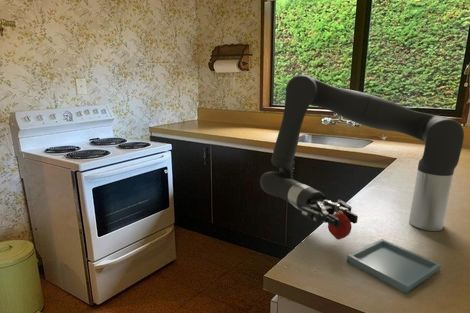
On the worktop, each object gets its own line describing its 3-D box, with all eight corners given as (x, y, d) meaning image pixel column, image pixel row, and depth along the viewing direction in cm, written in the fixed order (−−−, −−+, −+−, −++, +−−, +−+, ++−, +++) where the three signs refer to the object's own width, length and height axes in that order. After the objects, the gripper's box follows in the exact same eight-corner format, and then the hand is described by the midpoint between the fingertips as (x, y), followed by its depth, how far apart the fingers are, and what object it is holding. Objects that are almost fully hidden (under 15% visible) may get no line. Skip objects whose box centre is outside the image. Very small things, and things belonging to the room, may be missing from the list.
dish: (381, 245, 92) (382, 238, 92) (439, 271, 81) (441, 264, 80) (346, 261, 84) (347, 255, 83) (406, 294, 72) (408, 286, 72)
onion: (345, 233, 93) (348, 206, 91) (353, 244, 87) (356, 215, 85) (324, 233, 92) (326, 206, 90) (330, 244, 87) (333, 215, 85)
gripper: (286, 190, 97) (326, 213, 82) (326, 183, 103) (370, 203, 88) (285, 214, 99) (324, 241, 84) (324, 206, 105) (367, 230, 90)
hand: (347, 221), depth 86 cm, fingers closed on onion, 5 cm apart
